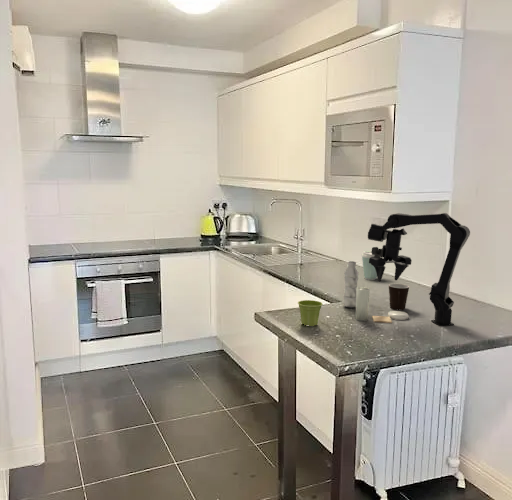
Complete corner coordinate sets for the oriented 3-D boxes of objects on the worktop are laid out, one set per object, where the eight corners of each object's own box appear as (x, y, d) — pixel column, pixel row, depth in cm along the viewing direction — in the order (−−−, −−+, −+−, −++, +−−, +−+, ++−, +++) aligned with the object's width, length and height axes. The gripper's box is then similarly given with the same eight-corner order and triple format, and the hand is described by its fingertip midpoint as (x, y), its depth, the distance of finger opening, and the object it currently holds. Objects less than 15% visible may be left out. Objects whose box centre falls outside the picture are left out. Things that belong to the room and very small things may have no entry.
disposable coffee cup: (379, 277, 291) (381, 251, 288) (380, 281, 280) (382, 254, 278) (360, 276, 292) (361, 250, 290) (360, 280, 282) (362, 253, 280)
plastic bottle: (340, 308, 225) (343, 262, 221) (343, 304, 231) (345, 260, 228) (355, 309, 222) (358, 264, 219) (358, 305, 229) (360, 261, 226)
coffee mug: (392, 304, 232) (393, 282, 231) (410, 308, 227) (412, 285, 225) (380, 309, 223) (382, 287, 222) (399, 313, 218) (401, 290, 216)
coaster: (389, 318, 211) (389, 316, 211) (391, 323, 204) (391, 321, 204) (372, 317, 212) (372, 315, 212) (373, 322, 205) (373, 320, 205)
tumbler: (370, 320, 207) (371, 290, 205) (358, 321, 206) (360, 290, 204) (364, 317, 212) (366, 287, 210) (353, 317, 211) (354, 287, 209)
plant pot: (296, 320, 204) (297, 299, 203) (320, 321, 204) (321, 300, 203) (297, 328, 195) (298, 305, 194) (322, 328, 195) (323, 306, 194)
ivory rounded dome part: (411, 319, 209) (411, 315, 209) (393, 320, 208) (393, 316, 207) (401, 314, 217) (402, 310, 217) (384, 314, 215) (384, 311, 215)
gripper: (395, 239, 223) (390, 274, 226) (362, 240, 214) (357, 276, 217) (414, 245, 214) (409, 281, 217) (380, 246, 205) (375, 283, 208)
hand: (387, 280), depth 215 cm, fingers open, 9 cm apart
